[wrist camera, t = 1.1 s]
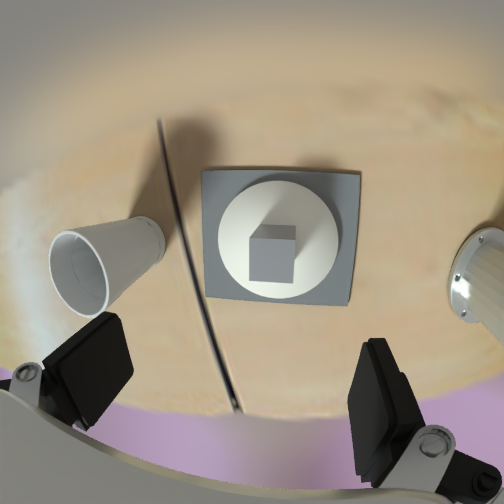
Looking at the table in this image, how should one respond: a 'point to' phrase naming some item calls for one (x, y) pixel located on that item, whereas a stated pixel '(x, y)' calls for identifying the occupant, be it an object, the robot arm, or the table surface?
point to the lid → (278, 239)
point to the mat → (322, 184)
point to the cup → (103, 261)
